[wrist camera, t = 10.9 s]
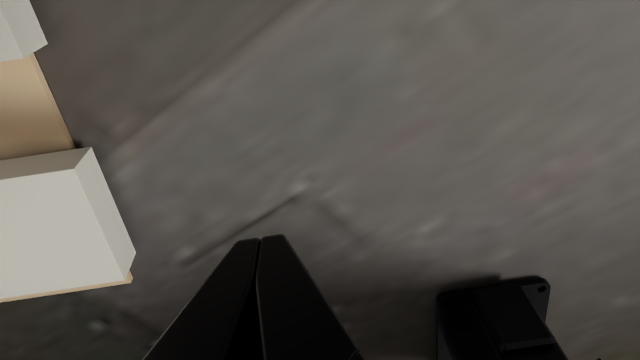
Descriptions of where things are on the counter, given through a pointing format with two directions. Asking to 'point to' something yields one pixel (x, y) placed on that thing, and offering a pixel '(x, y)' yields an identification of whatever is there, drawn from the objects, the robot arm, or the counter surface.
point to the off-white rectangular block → (19, 30)
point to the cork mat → (32, 127)
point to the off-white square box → (59, 225)
